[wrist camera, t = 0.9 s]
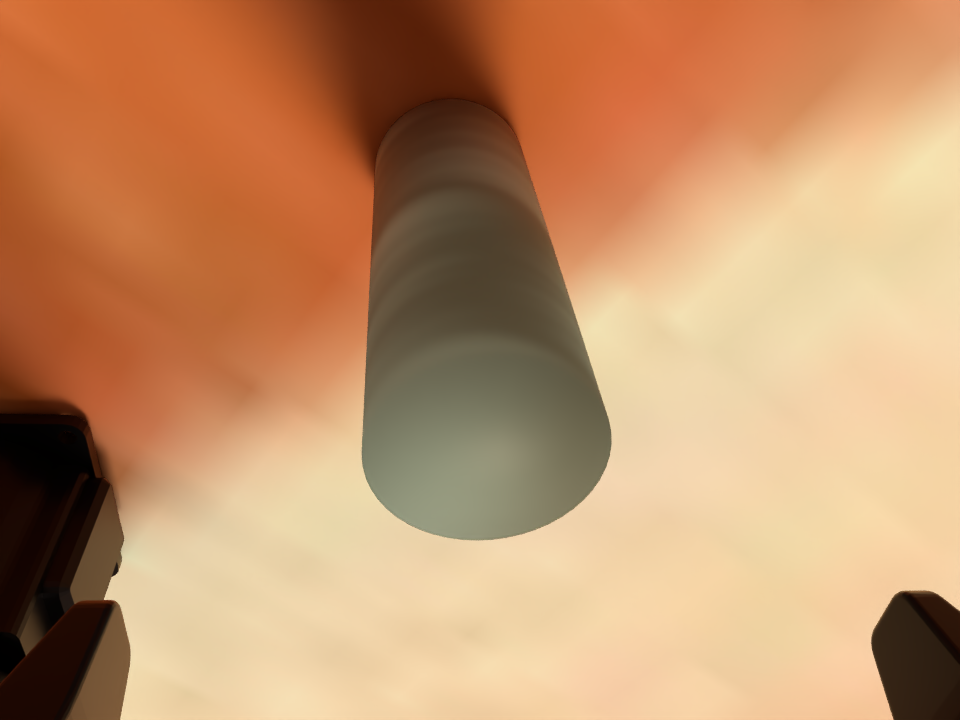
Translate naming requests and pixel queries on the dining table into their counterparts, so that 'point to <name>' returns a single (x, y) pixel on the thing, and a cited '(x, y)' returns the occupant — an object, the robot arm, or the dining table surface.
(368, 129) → the dining table surface
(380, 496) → the peg
